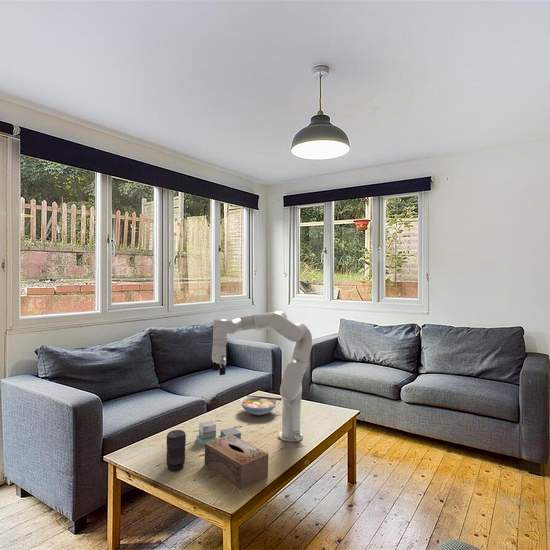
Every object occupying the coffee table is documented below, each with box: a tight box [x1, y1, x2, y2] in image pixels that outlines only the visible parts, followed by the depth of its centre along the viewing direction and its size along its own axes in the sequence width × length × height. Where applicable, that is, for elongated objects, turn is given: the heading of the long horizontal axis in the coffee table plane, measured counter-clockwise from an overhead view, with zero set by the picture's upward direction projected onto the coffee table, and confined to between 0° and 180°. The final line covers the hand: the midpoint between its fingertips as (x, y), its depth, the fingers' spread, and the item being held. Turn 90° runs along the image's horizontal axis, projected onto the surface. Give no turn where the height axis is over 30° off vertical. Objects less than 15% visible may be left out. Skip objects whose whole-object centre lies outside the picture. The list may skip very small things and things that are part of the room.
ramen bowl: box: [239, 394, 283, 416], centre depth 234 cm, size 25×23×8 cm
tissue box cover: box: [203, 434, 269, 490], centre depth 167 cm, size 26×14×10 cm, turn 45°
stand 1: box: [196, 433, 218, 447], centre depth 195 cm, size 8×8×2 cm
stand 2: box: [220, 427, 242, 439], centre depth 201 cm, size 8×8×2 cm
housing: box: [198, 420, 217, 440], centre depth 195 cm, size 7×6×6 cm
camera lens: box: [166, 429, 187, 472], centre depth 168 cm, size 8×8×15 cm
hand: (218, 372), depth 211 cm, fingers open, 9 cm apart
